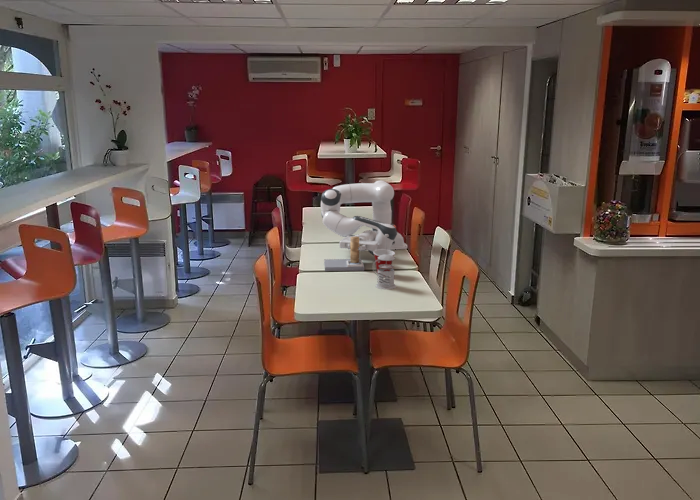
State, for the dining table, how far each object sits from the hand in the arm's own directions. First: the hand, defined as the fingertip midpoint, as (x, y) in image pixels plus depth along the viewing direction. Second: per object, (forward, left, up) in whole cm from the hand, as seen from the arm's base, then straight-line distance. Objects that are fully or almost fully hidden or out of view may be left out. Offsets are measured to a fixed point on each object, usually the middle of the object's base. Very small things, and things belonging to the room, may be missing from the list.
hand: (354, 248), depth 299 cm
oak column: (0, -1, -7) cm, 8 cm away
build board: (+5, -4, -11) cm, 13 cm away
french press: (-12, +30, -11) cm, 34 cm away
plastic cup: (-14, +12, -11) cm, 22 cm away
